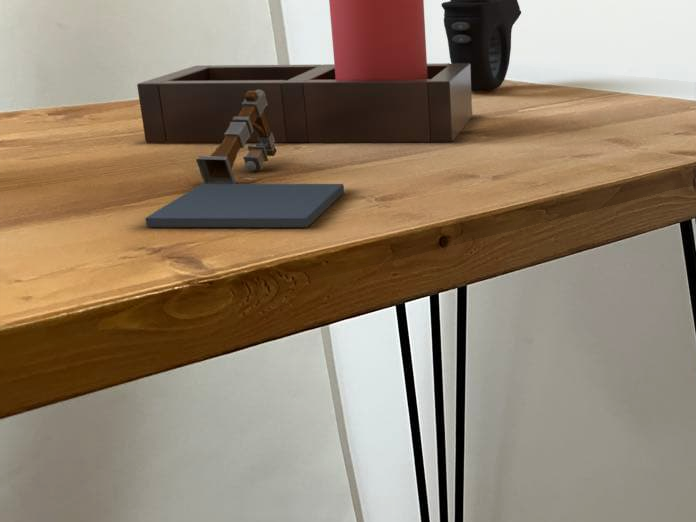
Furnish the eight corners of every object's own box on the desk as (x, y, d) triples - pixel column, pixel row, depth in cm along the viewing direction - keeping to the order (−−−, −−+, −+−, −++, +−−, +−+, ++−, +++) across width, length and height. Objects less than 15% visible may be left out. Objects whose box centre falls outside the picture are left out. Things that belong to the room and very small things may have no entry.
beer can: (448, 125, 82) (440, -50, 78) (391, 138, 77) (379, -48, 73) (379, 119, 86) (367, -49, 81) (320, 131, 80) (304, -47, 76)
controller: (439, 98, 96) (433, -25, 93) (484, 81, 107) (480, -30, 103) (486, 99, 95) (482, -26, 91) (526, 82, 106) (524, -30, 102)
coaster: (146, 227, 54) (144, 217, 54) (202, 192, 62) (201, 183, 61) (307, 227, 54) (306, 217, 54) (344, 192, 61) (343, 183, 61)
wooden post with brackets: (290, 144, 70) (271, 80, 67) (247, 222, 65) (224, 156, 62) (263, 143, 71) (243, 79, 67) (218, 221, 65) (194, 155, 62)
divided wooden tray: (145, 143, 77) (136, 83, 76) (202, 118, 88) (195, 65, 86) (452, 141, 76) (449, 81, 74) (472, 116, 86) (470, 63, 85)
